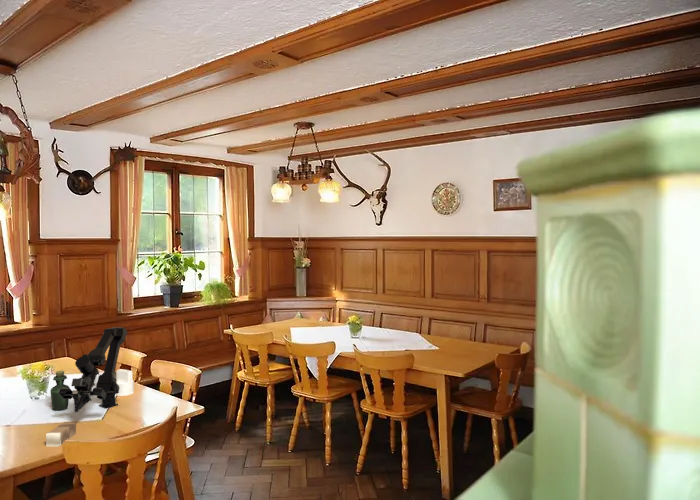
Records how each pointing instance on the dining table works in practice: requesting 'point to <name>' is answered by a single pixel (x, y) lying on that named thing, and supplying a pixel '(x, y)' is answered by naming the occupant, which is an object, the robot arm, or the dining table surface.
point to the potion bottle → (56, 399)
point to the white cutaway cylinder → (125, 382)
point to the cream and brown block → (60, 434)
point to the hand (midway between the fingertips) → (75, 411)
